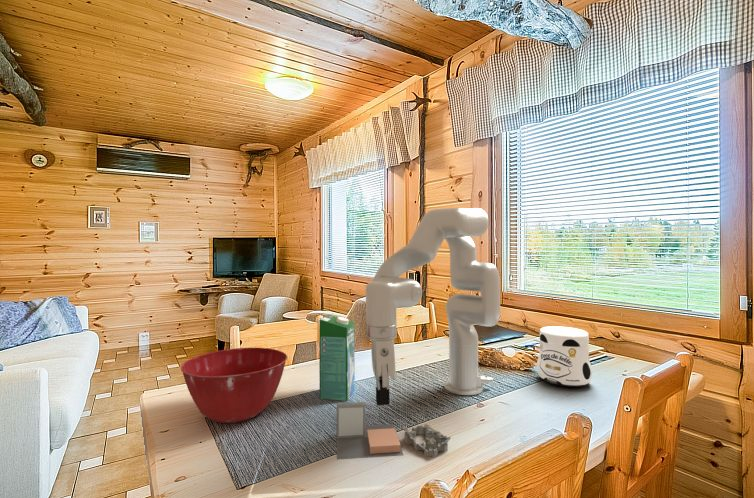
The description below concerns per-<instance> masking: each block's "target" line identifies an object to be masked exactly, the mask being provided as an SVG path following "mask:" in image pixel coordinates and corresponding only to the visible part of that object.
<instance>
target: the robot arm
mask: <svg viewBox="0 0 754 498" xmlns="http://www.w3.org/2000/svg"><path fill="white" fill-rule="evenodd" d="M489 221H490V220H489V216H488V214H487V213H486V211H485V210H483V209H482V208H478V207H473V208H472V207H470V208H469V207H468V208H467V207H449V208H437V209H436V208H435V209H431V210H428V211H426V213H425V214H424V215H423V217H422V218H421V220H420V222H419V224H418V226H417V227H416V229H415V230H414V233H413V235H411V238H410V240H409V242H408V243H407V244H406V245H404V246H403V247H401V248H400V249H399V250H397V251H396V252H394V253H393V254H392V255H390V256H389V257H388V258H386V260H384V261H383V262H382V264H381V265H380V266H379V268H378V270H377V271H376V273H375V275H374V277H373V279H372V281H369V282H368V283H367V284H366V286H365V314H366V315H365V318H366V319H365V320H366V322H365V323H366V325H365V327H366V329H365V330H366V334H365V335H366V339H368V340H369V341H371V344H370V345H371V366H372V371H373V375H374V378H375V382H376V387H375V403H376V405H377V406H386V405H387V406H388V405H390V403H391V402H390V379H391V380H392V381H396V379H397V373H396V372H397V371H396V358H395V357H396V356H395V355H396V353H395V344H394V343H395V341H394V340H395V339H396V338H397V337H398V336H397V334H398V333H397V331H398V330H397V309H399V308H402V309H403V308H404V309H405V308H412V307H414V306H416V305H417V304H419V302H421V299H422V297H423V288H422V286H421V284H420V283H419V282H418V281H417V280H416V279H413V278H407V277H401V276H402V275H404V274H405V273H406V272H409V271H411V270H414V269H417V268H421V267H422V266H426V265H427V264H430V263H431V262H432V261H434V259H435V258H436V256H437V254H438V252H439V250H440V248H441V246H442V243H443V242H444V240H445V241H446V243H447V245H448V249H449V264H450V265H449V266H450V267H449V274H450V275H449V276H450V284H451V286H452V288H453V289H456V290H460V291H468V292H479V293H481V295H475V294H468V293H456V294H453V295H451V296H449V298H448V299H447V300H446V304H445V310H446V312H445V313H446V317H447V322H448V335H449V336H448V337H449V338H448V340H449V341H448V356H449V357H448V380H446V381H445V382H444V384H443V385H444V389H445V390H446V391H447V392H449V393H450V394H454V395H460V396H475V395H478V394H481V393H483V391H484V386H483V385H484V384H493V381H494V380H493V378H492V377H491V376H489V377H486V375H479V336H478V332H477V330H476V327H475V326H483V327H494V326H495V325H496V326H497V324H498V323H499V321H500V317H501V278H500V277H501V276H500V272H499V269H498V267H497V266H496V265H495V264H493V263H490V262H484V261H483V262H482V261H481V262H480V261H479V262H478V261H477V250H476V244H475V243H474V240H473V239H472V237H480V236H482V235H484V234H485V233H486V231H487V230H488V227H489ZM474 325H475V326H474Z"/></svg>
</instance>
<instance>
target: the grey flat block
mask: <svg viewBox="0 0 754 498" xmlns="http://www.w3.org/2000/svg"><path fill="white" fill-rule="evenodd" d="M365 426H366V403H365V402H364V401H363V402H362V401H361V402H358V401H357V402H338V403H337V402H336V439H337V438H352V437H365Z"/></svg>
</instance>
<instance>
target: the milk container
mask: <svg viewBox="0 0 754 498" xmlns="http://www.w3.org/2000/svg"><path fill="white" fill-rule="evenodd" d="M536 361H537V362H536V369H537V370H536V371H537V374H538V376H539V378H540V379H542V380H543V381H544V382H547V383H549V384H552V385H556V386H560V387H566V388H581V387H584V386H587V385H590V382H591V381H592V380H591V379H592V374H593V371H592V365H591V362H590V337H589V332H587V331H586V330H584V329H581V328H580V329H579V328H575V327H568V326H557V325H556V326H552V325H551V326H543V327H541V328H540V330H539V354H538V357H537V360H536Z"/></svg>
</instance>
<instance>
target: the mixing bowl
mask: <svg viewBox="0 0 754 498" xmlns="http://www.w3.org/2000/svg"><path fill="white" fill-rule="evenodd" d="M287 360H288V356H287V354H286V353H285V352H284V351H281V350H278V349H275V348H269V347H239V348H238V347H237V348H229V349H222V350H221V349H220V350H216V351H211V352H207V353H203V354H200V355H197V356H195V357H191V358H190V359H187V360H186V361H184V363H182V364H181V366H180V371H181V372H182V374H183V375H182V376H183V378H184V382H185V384H186V387H187V390H188V392H189V394H190V397H191V398H192V401H193V403H194V404H195V406H196V408H197V410H198V411H199V412H200V413H201V414H202V415H203V416H204V417H206V418H208V419H210V420H212V421H214V422H216V423H218V424H219V423H220V424H235V423H236V424H237V423H242V422H244V421H248V420H250V419H253V418H256V416H258V415H259V414H260V413H262V412H263V411H265V409H266V408H267V407H268V406H269V405H270V403H271V402H272V400H273V399H274V397H275V395H276V392H277V390H278V388H279V385H280V383H281V379H282V377H283V373H284V370H285V365H286V361H287Z"/></svg>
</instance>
